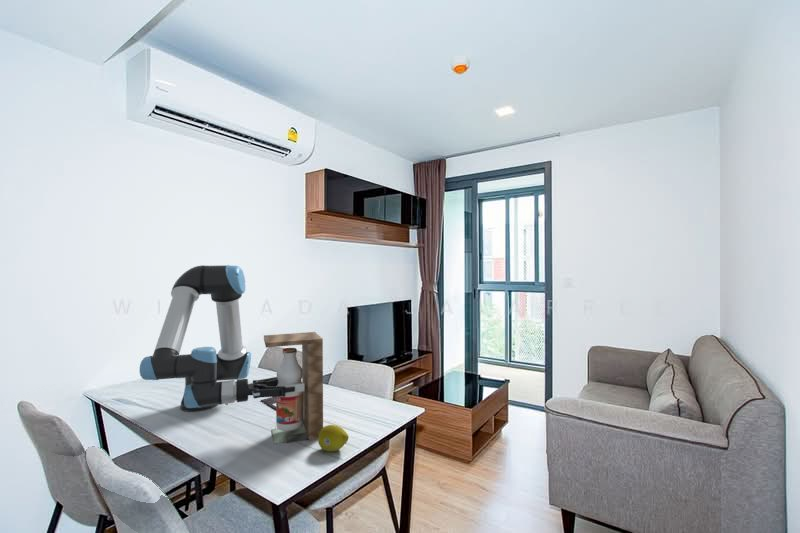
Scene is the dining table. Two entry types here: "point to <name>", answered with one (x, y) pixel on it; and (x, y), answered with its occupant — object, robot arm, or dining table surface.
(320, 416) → the shelf
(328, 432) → the lemon
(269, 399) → the chocolate bar
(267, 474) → the dining table surface
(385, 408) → the dining table surface
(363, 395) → the dining table surface
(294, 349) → the fruit juice
